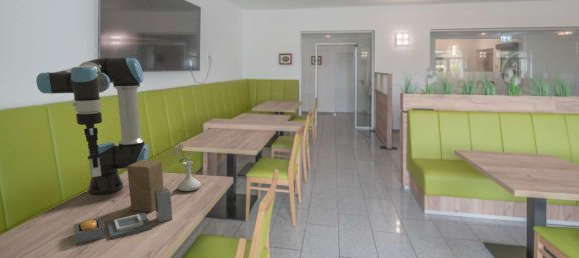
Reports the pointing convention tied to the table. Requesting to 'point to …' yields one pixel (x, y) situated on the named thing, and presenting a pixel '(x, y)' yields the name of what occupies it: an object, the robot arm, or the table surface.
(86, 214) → the table surface
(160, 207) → the steel billet
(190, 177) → the flower in vase
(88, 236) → the button station
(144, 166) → the wooden block
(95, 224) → the button
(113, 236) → the plate
